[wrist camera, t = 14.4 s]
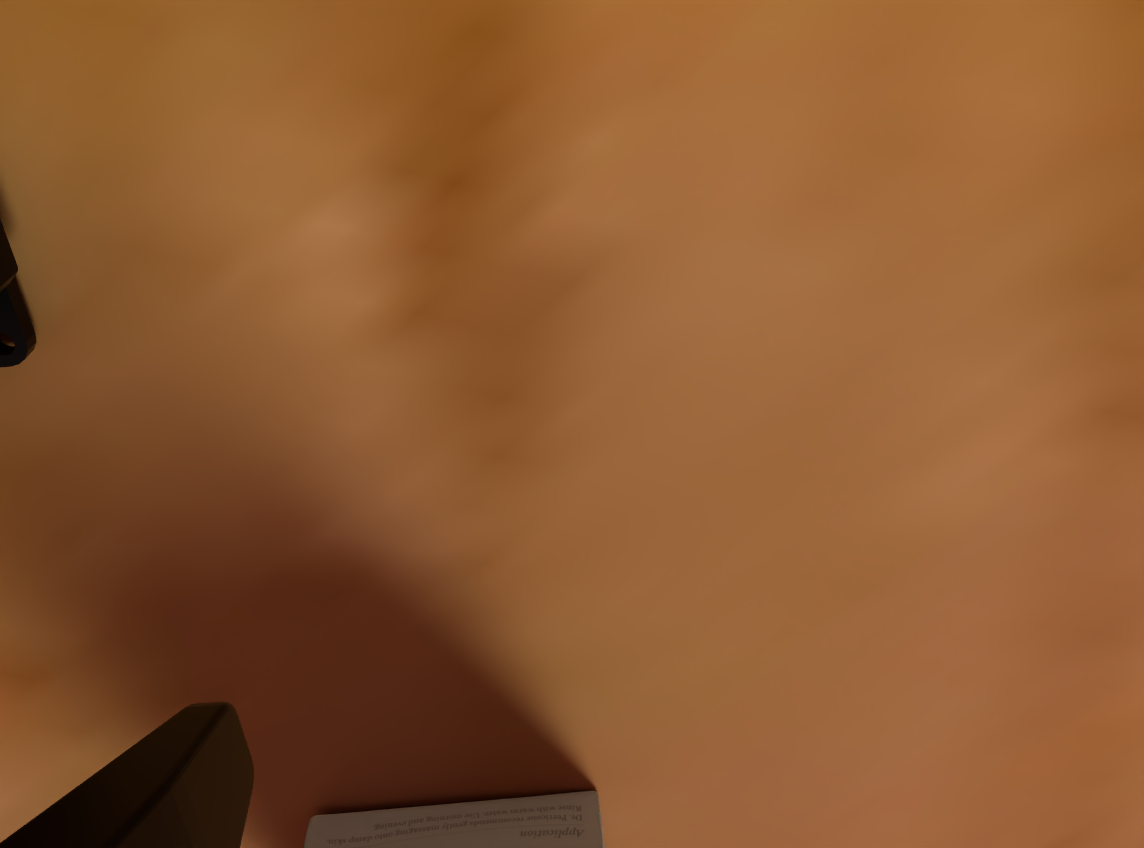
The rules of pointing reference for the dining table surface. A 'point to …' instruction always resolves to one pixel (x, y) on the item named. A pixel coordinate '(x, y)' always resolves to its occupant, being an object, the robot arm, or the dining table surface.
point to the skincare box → (468, 825)
